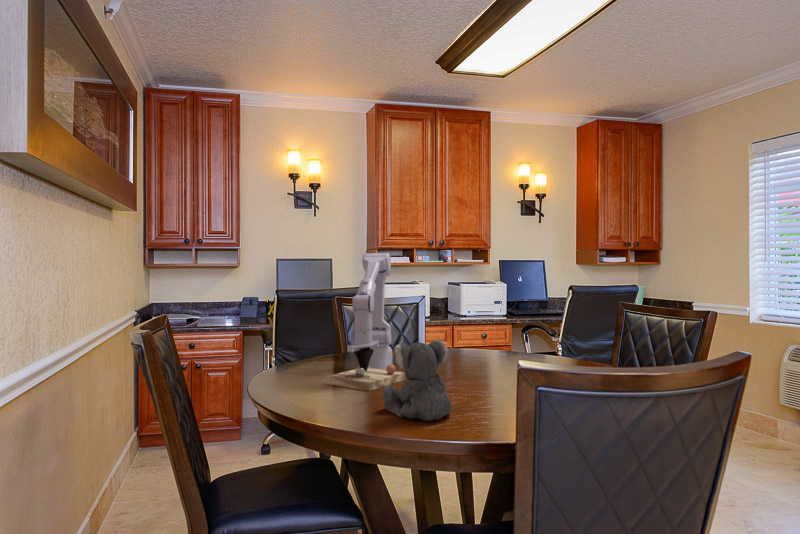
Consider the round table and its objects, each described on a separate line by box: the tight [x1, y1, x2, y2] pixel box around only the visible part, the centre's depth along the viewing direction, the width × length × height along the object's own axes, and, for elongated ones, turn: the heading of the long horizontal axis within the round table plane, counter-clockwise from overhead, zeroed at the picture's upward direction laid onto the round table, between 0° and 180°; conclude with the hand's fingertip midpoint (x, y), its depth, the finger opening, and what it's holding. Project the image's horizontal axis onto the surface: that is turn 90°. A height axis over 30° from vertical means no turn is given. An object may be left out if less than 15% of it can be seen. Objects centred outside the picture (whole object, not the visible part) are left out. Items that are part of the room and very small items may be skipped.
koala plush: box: [382, 338, 452, 422], centre depth 137 cm, size 17×18×20 cm
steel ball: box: [355, 366, 365, 377], centre depth 173 cm, size 3×3×3 cm
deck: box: [326, 367, 406, 392], centre depth 176 cm, size 20×18×2 cm
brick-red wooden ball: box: [386, 363, 397, 374], centre depth 176 cm, size 3×3×3 cm
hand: (363, 370), depth 174 cm, fingers closed, pressing on steel ball
